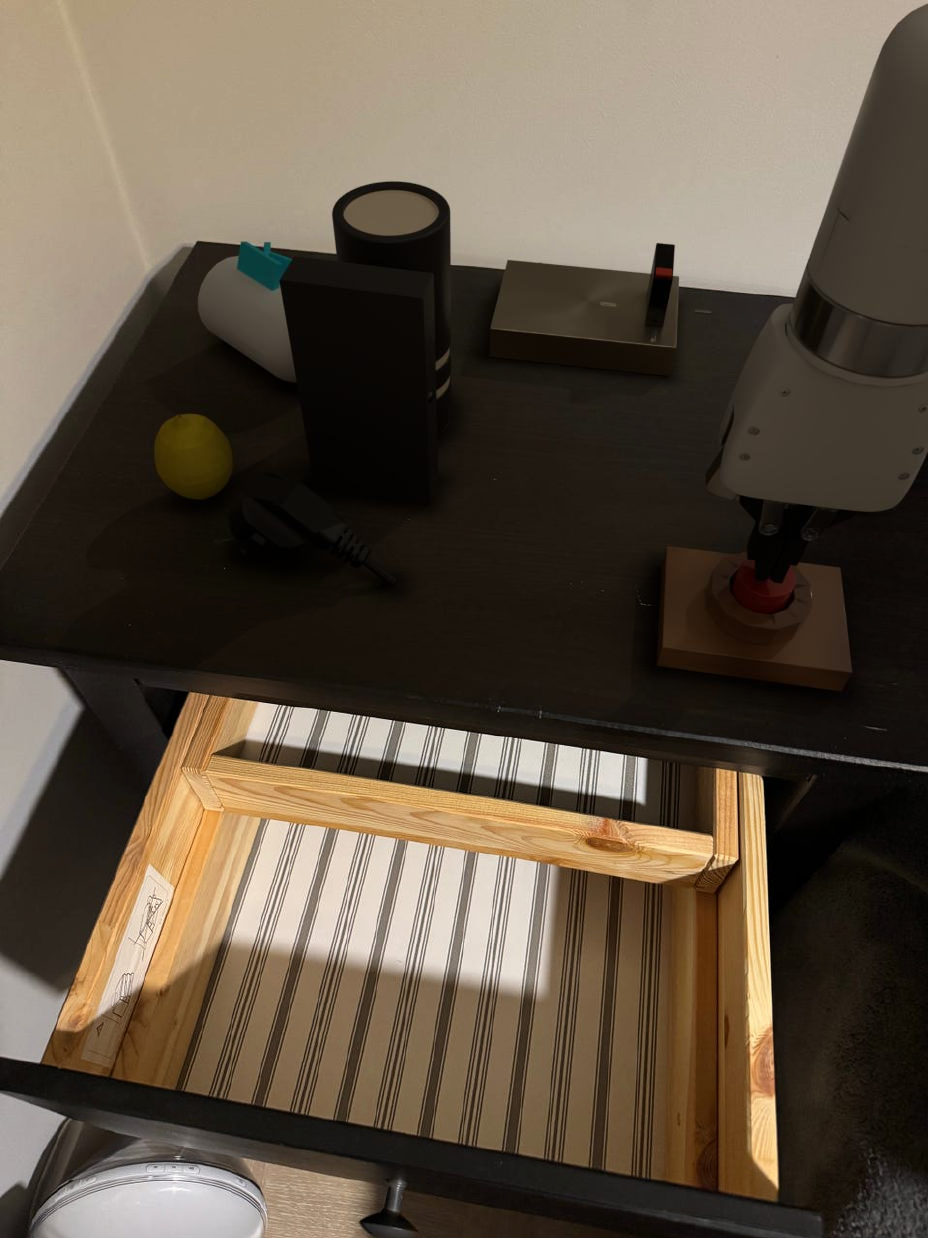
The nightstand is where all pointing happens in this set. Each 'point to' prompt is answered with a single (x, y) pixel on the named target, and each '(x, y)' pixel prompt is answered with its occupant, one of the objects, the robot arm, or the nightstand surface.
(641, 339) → the panel
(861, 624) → the nightstand surface
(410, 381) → the light fixture
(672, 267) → the black boxy piece
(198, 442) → the fruit
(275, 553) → the power plug
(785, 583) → the button
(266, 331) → the mug
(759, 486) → the robot arm
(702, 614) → the red push button box
